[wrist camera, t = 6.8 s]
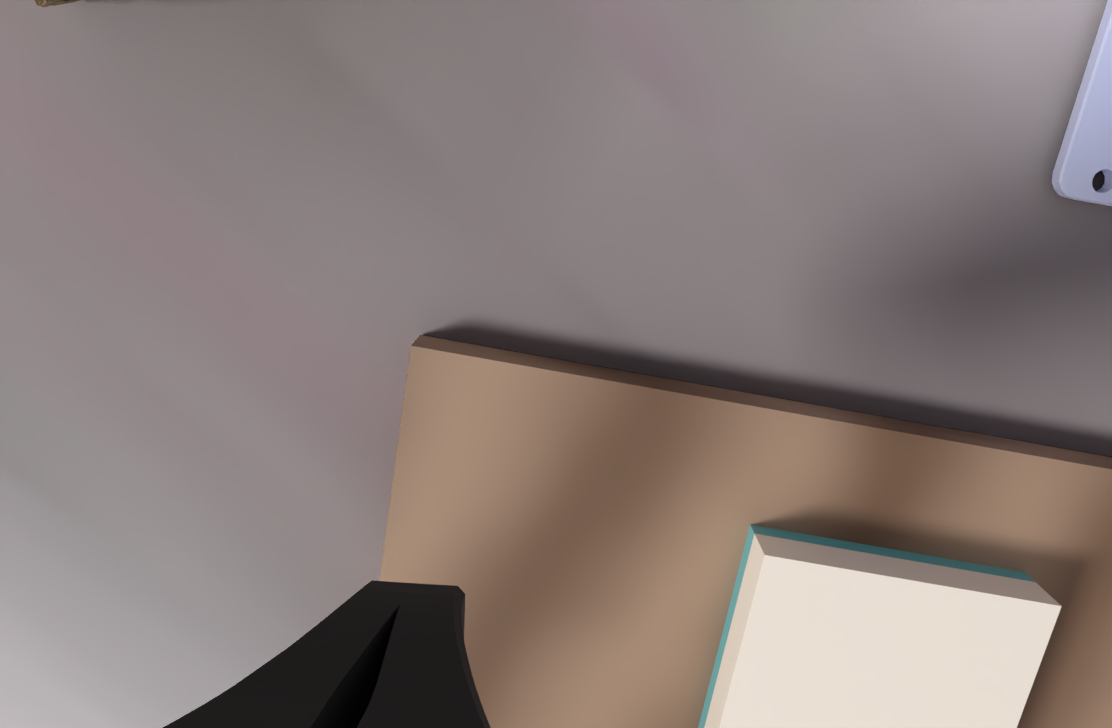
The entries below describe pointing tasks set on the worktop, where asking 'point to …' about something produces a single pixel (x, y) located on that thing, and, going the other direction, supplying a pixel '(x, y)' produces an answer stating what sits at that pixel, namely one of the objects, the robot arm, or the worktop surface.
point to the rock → (53, 2)
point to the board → (702, 526)
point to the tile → (874, 639)
